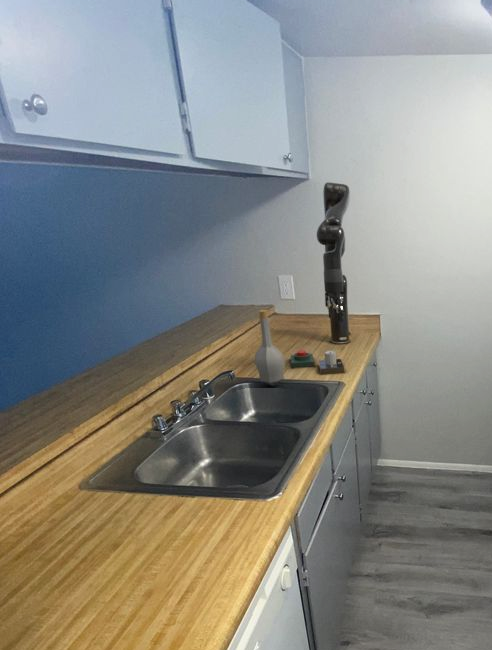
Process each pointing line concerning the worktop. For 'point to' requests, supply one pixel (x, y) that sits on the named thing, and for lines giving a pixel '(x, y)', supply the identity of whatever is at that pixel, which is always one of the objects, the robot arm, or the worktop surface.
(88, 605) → the worktop surface
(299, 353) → the nozzle button
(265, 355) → the bottle
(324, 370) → the dial panel
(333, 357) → the dial
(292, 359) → the dark green button base
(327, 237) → the robot arm
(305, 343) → the worktop surface
